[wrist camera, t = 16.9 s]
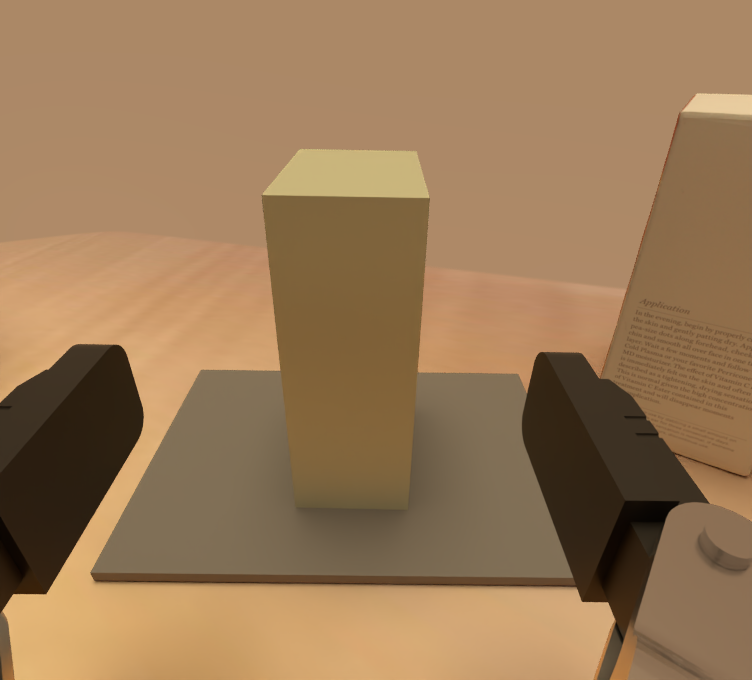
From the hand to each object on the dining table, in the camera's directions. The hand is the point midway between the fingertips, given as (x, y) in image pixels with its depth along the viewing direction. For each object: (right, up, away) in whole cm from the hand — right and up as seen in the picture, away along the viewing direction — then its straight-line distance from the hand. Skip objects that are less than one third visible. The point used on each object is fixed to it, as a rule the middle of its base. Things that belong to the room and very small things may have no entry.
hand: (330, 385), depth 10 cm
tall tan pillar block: (0, -3, +10) cm, 11 cm away
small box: (+15, -2, +14) cm, 21 cm away
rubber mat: (0, -4, +10) cm, 11 cm away
